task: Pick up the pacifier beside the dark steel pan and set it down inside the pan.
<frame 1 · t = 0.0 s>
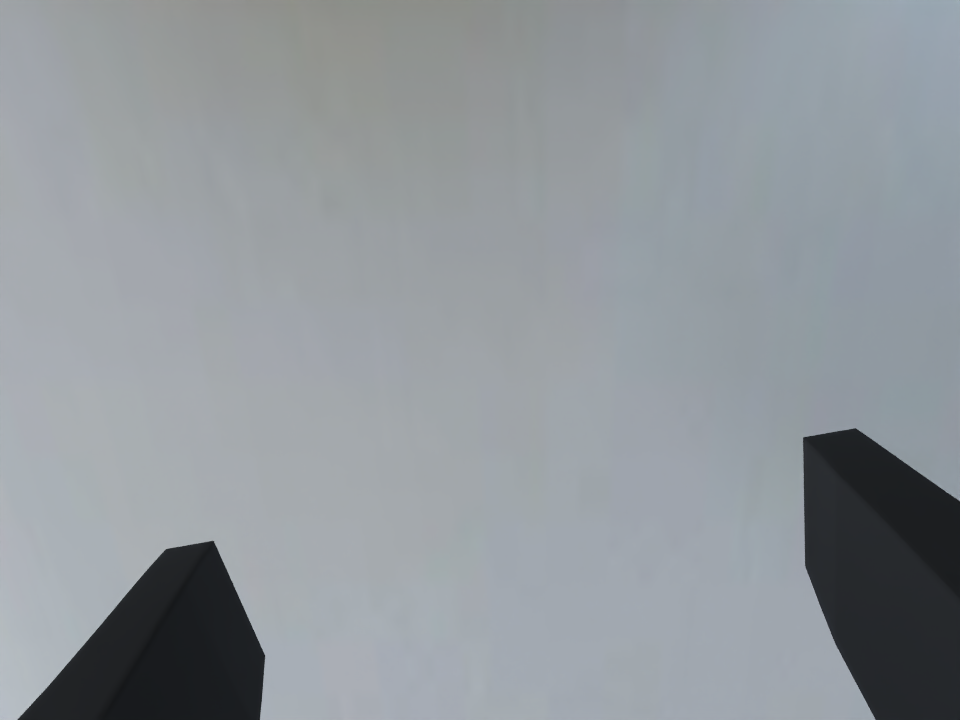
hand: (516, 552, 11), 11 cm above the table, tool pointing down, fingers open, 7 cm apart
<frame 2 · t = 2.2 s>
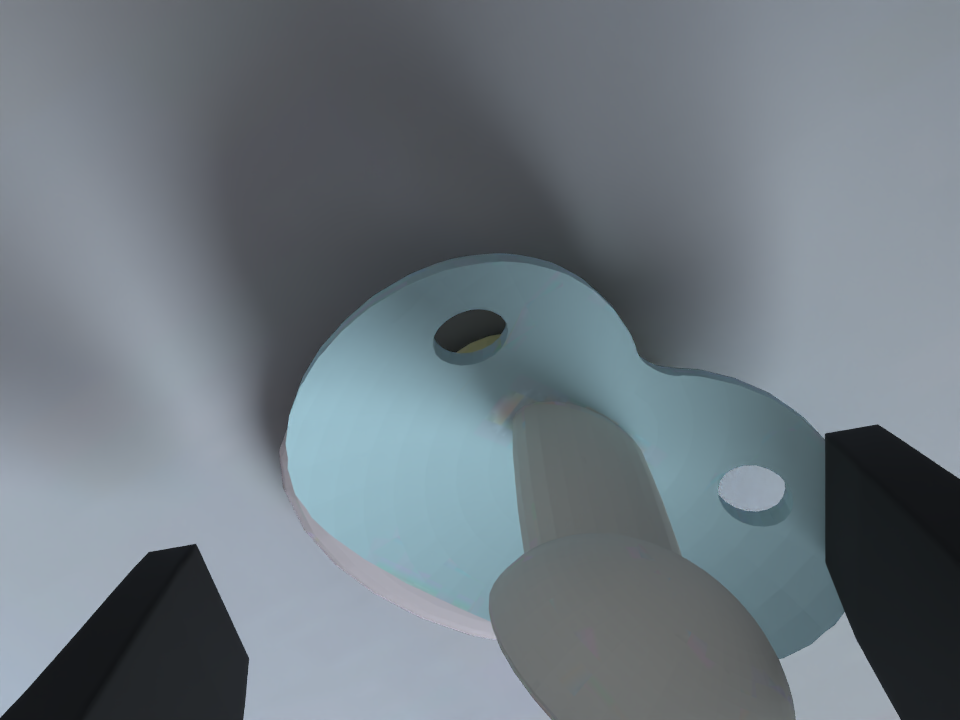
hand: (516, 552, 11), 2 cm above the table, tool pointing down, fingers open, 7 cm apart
pacifier: (526, 445, 13), on the table, touching gripper
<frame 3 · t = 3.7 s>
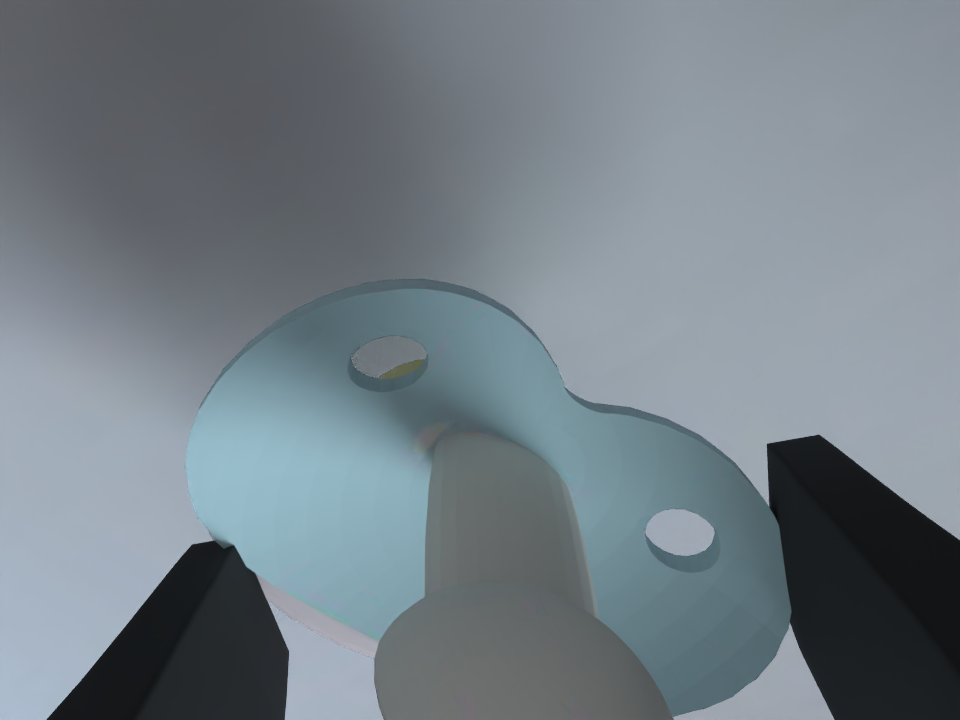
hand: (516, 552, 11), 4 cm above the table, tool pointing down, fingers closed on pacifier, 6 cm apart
pacifier: (455, 473, 13), point 2 cm above the table, touching gripper
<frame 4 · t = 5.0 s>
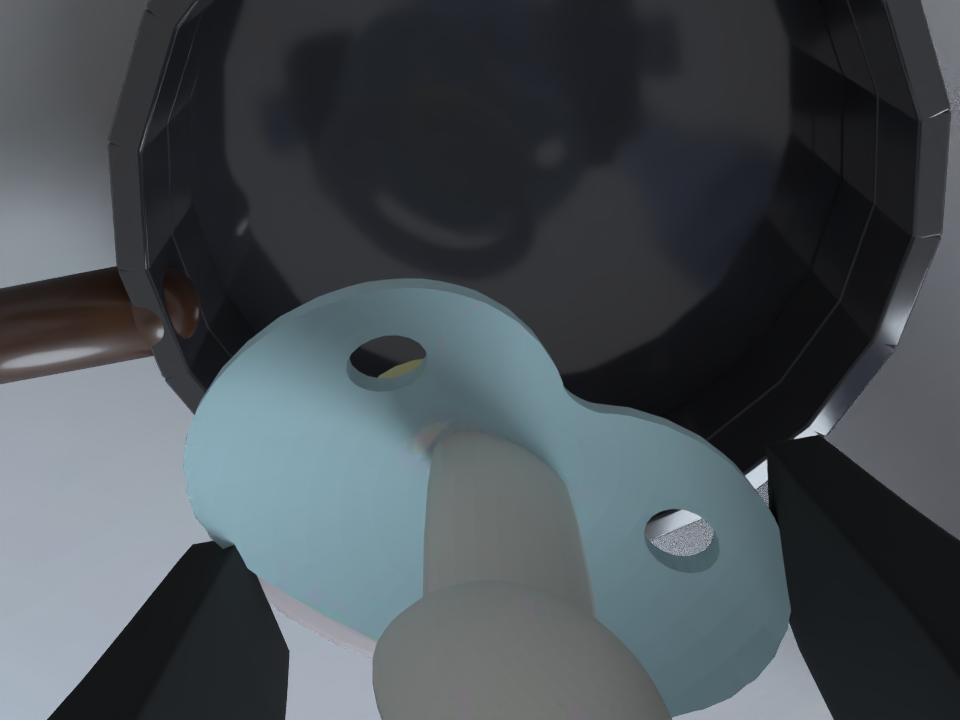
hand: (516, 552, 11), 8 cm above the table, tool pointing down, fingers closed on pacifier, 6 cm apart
pacifier: (454, 473, 13), point 7 cm above the table, touching gripper
pan: (517, 180, 18), on the table
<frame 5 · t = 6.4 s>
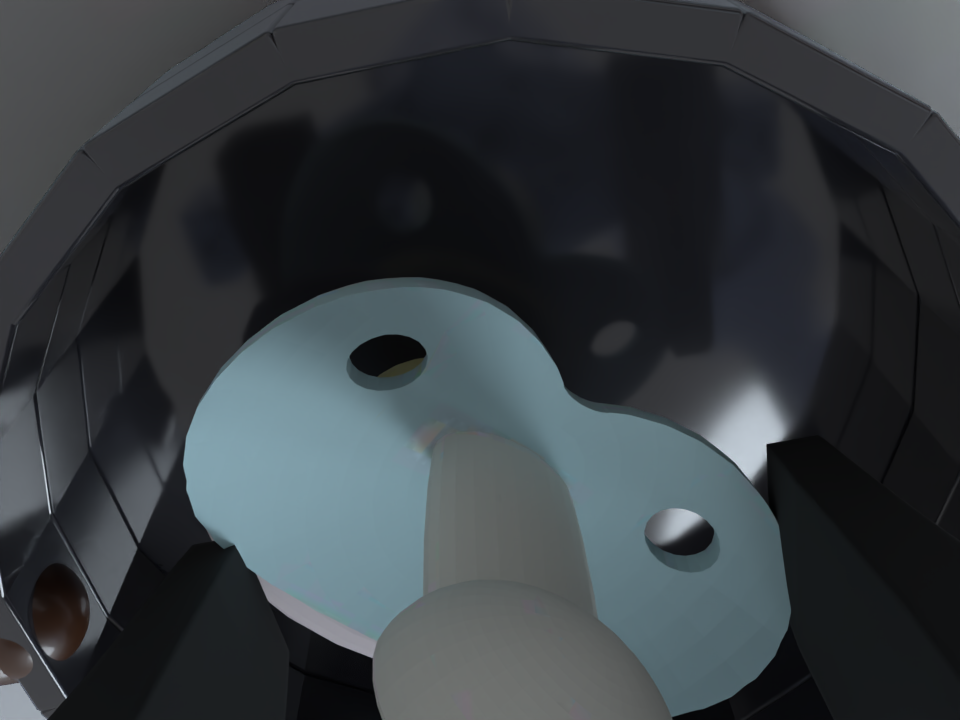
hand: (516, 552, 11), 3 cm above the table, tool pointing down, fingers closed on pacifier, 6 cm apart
pacifier: (454, 472, 13), point 2 cm above the table, touching gripper
pan: (501, 410, 14), on the table
when the fingers open (2 cm above the table, at t = 7.4 s): pacifier stays where it is, resting on pan.
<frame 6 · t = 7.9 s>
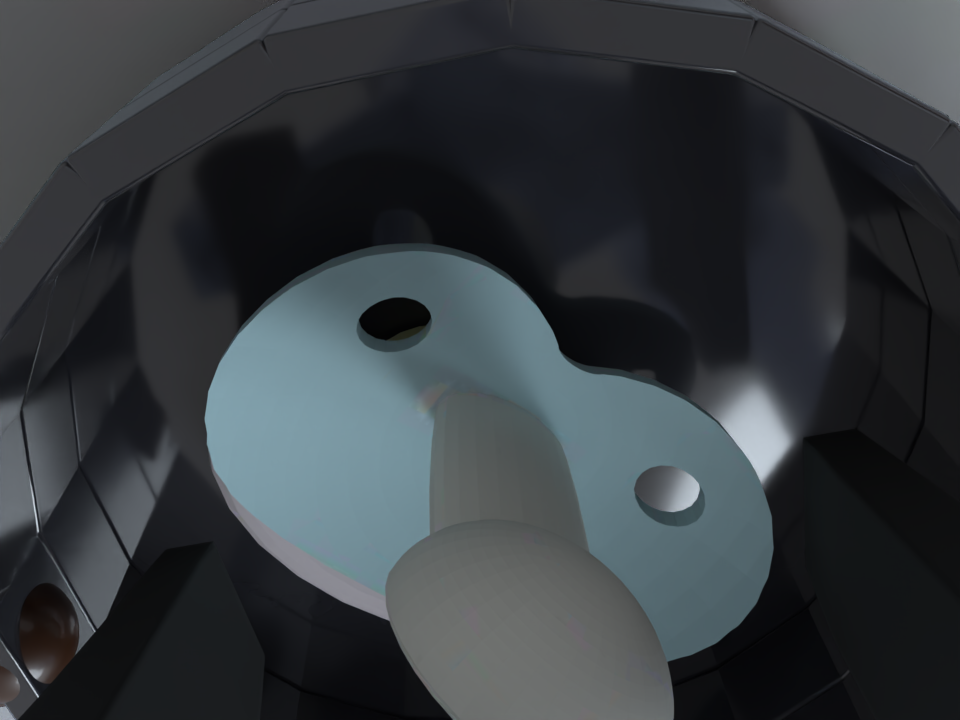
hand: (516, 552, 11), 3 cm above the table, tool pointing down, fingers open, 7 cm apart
pacifier: (455, 437, 13), resting on pan
pan: (502, 423, 14), on the table
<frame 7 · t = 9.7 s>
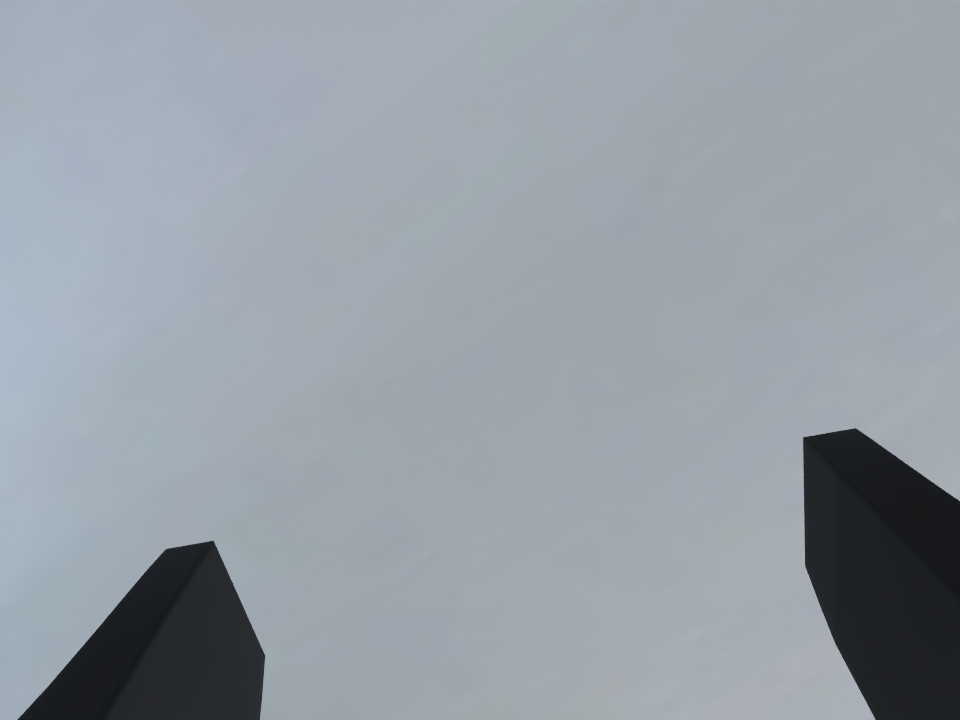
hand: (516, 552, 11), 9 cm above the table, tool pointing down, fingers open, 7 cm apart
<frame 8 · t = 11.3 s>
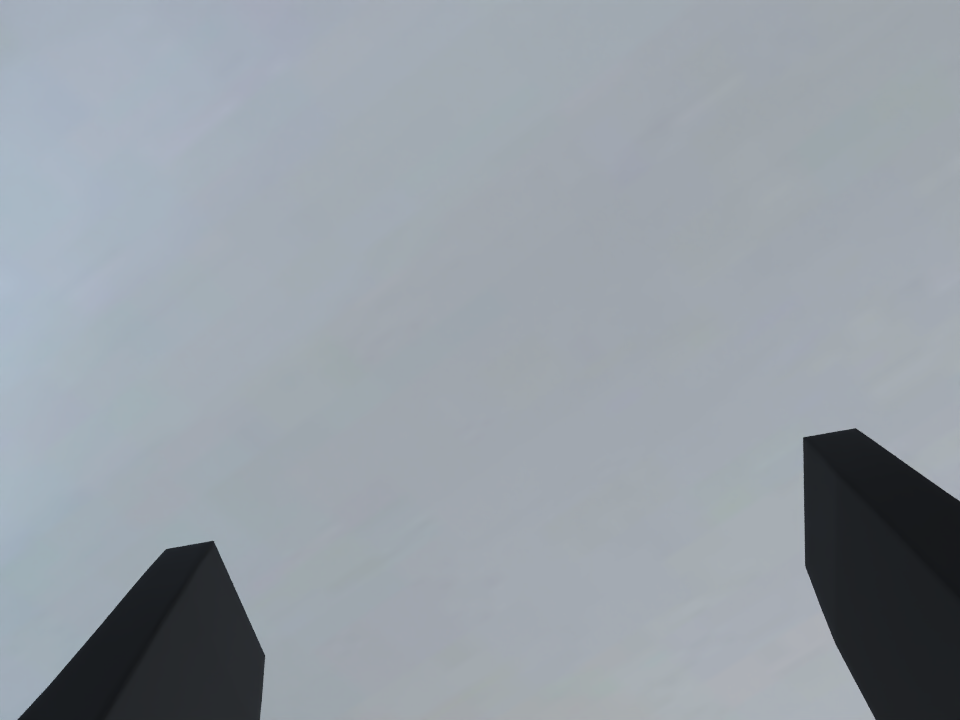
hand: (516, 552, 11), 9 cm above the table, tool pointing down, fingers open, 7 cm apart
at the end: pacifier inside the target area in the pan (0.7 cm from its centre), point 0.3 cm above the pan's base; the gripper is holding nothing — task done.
